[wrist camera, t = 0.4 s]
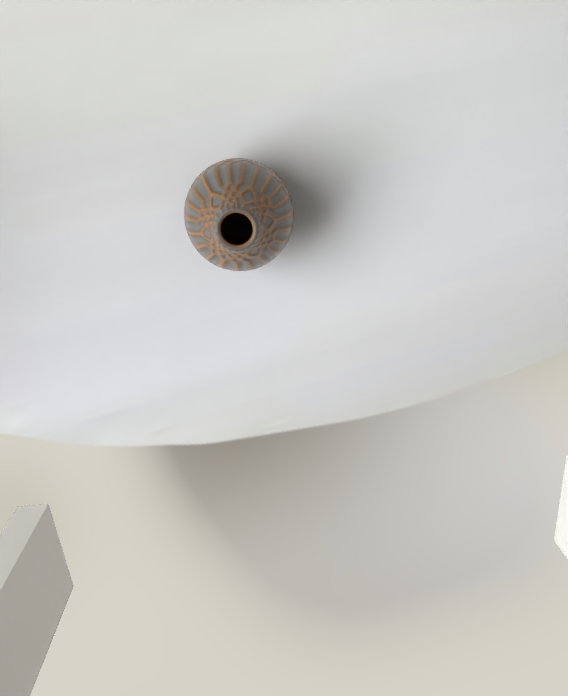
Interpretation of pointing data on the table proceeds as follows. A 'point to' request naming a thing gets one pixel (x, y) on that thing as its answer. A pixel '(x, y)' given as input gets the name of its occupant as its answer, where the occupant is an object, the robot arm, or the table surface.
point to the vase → (238, 214)
